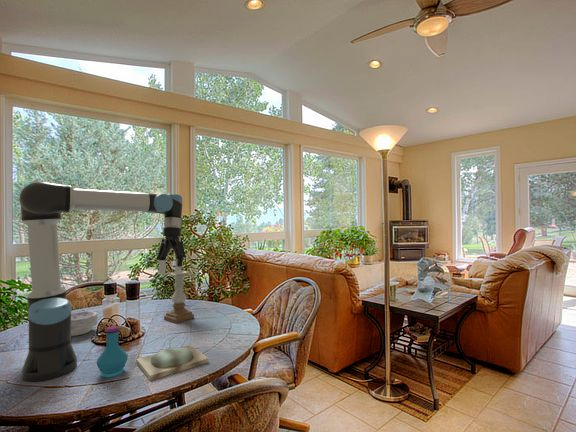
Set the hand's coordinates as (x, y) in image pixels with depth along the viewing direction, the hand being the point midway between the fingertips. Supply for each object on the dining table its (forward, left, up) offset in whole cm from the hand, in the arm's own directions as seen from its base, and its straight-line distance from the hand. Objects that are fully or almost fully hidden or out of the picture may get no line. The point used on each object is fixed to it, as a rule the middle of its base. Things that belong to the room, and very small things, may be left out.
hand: (169, 274), depth 144 cm
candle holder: (+12, +19, -27) cm, 35 cm away
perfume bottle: (-27, -24, -27) cm, 45 cm away
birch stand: (-9, -30, -27) cm, 41 cm away
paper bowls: (-31, +29, -27) cm, 51 cm away
